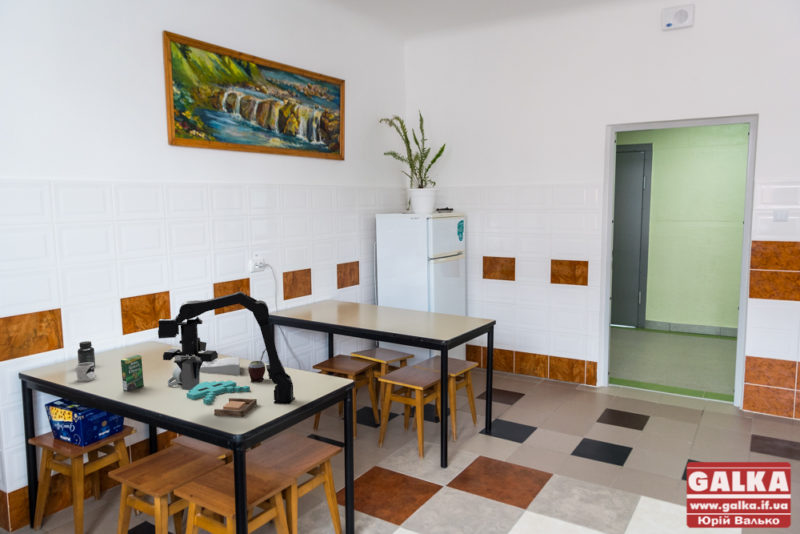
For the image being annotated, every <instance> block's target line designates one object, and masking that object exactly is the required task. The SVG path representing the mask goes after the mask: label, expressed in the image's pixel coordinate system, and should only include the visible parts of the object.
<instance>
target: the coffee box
mask: <svg viewBox="0 0 800 534" xmlns="http://www.w3.org/2000/svg"><path fill="white" fill-rule="evenodd" d="M142 361H143V360H142V355H139V354H135V355H133V356H130V357H126V358H123V359H120V366H121V377H122V378H121V379H122V388H123V389H122V390H123V392H124V391H125V392H129V391H132V390H135V389H139V388H141V387H144V385H145V382H144V372H143V371H144V370H143V362H142Z"/></svg>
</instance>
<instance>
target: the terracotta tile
mask: <svg viewBox="0 0 800 534" xmlns="http://www.w3.org/2000/svg"><path fill="white" fill-rule="evenodd" d="M246 406H247V405H245V402H237V401H230V402H229V401H228V402H227V403H226V404H225V405H223V406H222V409H226V410H242V409H244V408H245V407H246Z"/></svg>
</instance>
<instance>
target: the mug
mask: <svg viewBox="0 0 800 534" xmlns="http://www.w3.org/2000/svg"><path fill="white" fill-rule="evenodd" d="M75 367H76V380H77V382H79V383H82V382H84V383H85V382H91V381H93V380H95V377H96V375H95V367H94V363H92V362H86V363H80V364H76V366H75Z"/></svg>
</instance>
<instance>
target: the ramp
mask: <svg viewBox="0 0 800 534" xmlns="http://www.w3.org/2000/svg"><path fill="white" fill-rule="evenodd" d="M240 363H241V362H240V356H229V357H223V358H217V359H215V360H213V361H212V362H203V363H202V365H201V368H200V373H205V374H218V375H228V376H229V375H230V376H231V375H232V376H241V365H240Z"/></svg>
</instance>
